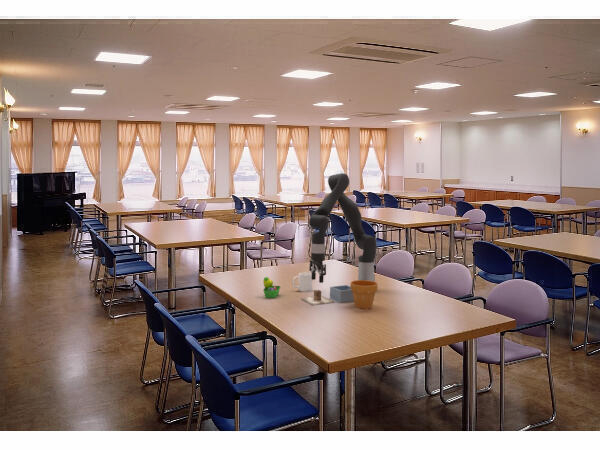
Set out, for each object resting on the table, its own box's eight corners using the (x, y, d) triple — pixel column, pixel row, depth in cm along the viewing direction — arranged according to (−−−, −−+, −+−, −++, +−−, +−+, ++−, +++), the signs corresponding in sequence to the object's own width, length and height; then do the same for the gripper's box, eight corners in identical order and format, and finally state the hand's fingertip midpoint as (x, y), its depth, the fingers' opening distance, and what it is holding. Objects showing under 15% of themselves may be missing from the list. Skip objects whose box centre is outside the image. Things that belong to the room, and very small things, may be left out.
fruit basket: (276, 299, 295) (276, 279, 294) (260, 298, 297) (260, 278, 296) (280, 294, 306) (280, 275, 305) (265, 293, 308) (266, 274, 307)
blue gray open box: (346, 297, 303) (346, 285, 302) (357, 301, 293) (357, 289, 292) (329, 299, 297) (330, 286, 297) (340, 303, 288) (340, 291, 287)
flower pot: (373, 311, 273) (374, 286, 272) (347, 308, 278) (347, 284, 276) (379, 304, 286) (380, 281, 285) (353, 302, 291) (354, 279, 290)
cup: (313, 291, 314) (313, 275, 313) (293, 292, 312) (294, 275, 310) (310, 288, 322) (310, 272, 321) (291, 289, 320) (291, 272, 318)
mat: (322, 297, 300) (322, 296, 300) (335, 303, 288) (335, 302, 288) (300, 300, 294) (300, 299, 294) (312, 306, 281) (312, 305, 281)
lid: (321, 297, 299) (321, 287, 299) (333, 302, 288) (333, 292, 287) (301, 299, 293) (301, 289, 293) (312, 305, 282) (313, 294, 281)
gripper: (330, 253, 283) (329, 283, 285) (317, 249, 296) (316, 278, 298) (318, 254, 280) (317, 284, 282) (305, 250, 292) (305, 279, 294)
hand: (317, 281), depth 290 cm, fingers open, 8 cm apart
